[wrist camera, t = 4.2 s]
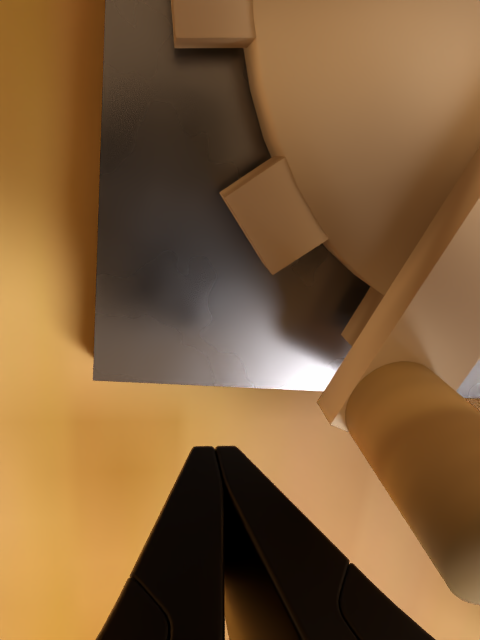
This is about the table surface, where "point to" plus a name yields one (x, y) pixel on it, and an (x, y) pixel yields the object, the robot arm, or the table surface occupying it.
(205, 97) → the base plate
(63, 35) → the table surface
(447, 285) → the index wheel
